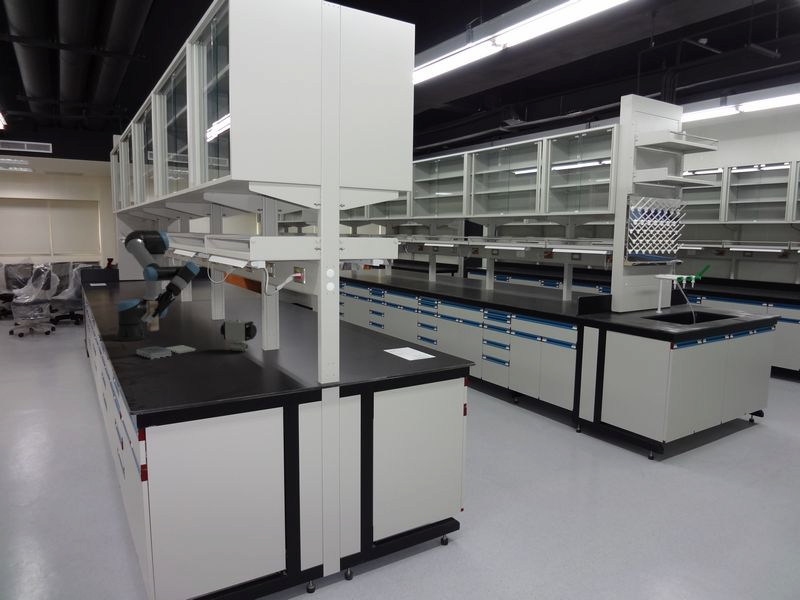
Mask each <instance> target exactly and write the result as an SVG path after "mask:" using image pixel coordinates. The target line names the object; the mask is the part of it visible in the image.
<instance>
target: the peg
mask: <svg viewBox="0 0 800 600" xmlns="http://www.w3.org/2000/svg"><path fill="white" fill-rule="evenodd" d="M146 304H147V317H148V316H149V315H150V314H151V313H152V312H153V311H154V309H156V308H157V307H158V301H146ZM155 311H156V310H155ZM159 319H160V318H159V316H158V315H157V316H156V317H155V318H154V319H153V320H152V321H151V323H148V322H147V321H146V323H147V324H146V325H147V331H148V332H157V331H160V324H159V323H160V321H159Z"/></svg>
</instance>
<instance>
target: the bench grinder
mask: <svg viewBox="0 0 800 600" xmlns="http://www.w3.org/2000/svg"><path fill="white" fill-rule="evenodd" d="M257 332H258V329H257V326H256V325H255V324H254V321H251V320H241V318H238V317H237V318H236V319H235V320H233V319H230V320H226V321H223V323H222V324H221V326H220V331H219V333H220V334H221V336H223V340H229V341H233V342H231V343H230V344H229V349H230V350H231V351H234V352H246V351H248V350H249V345H248V343H246V342H248V341H251V340H254V339H255V337H256V335H257Z"/></svg>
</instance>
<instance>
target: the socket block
mask: <svg viewBox="0 0 800 600" xmlns="http://www.w3.org/2000/svg"><path fill="white" fill-rule="evenodd" d="M165 348H166V347H162V346H159V345H154V346H147V347H140V348H136V355H137V354H138V355H137V356H140V355H141V356H140V357H143V356H144V357H143V358H145V357H147V358H146V359H148V358H150V359H149V360H155V359H154V358H157V359H161V358H160V357H163V358H166V356H169V357H172V352H171V350H169V349H165Z"/></svg>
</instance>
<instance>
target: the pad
mask: <svg viewBox="0 0 800 600" xmlns="http://www.w3.org/2000/svg"><path fill="white" fill-rule="evenodd" d="M164 348H165V349H169V350H171V351H172V352H171V353H174V352H175V354H177V353H178V354H184V353H189V352H195V350H196V348H195V347H190V346H187V345H183V344H182V345H181V344H180V345H175V346H168V347H167V346H166V347H164ZM196 351H197V350H196Z"/></svg>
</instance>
